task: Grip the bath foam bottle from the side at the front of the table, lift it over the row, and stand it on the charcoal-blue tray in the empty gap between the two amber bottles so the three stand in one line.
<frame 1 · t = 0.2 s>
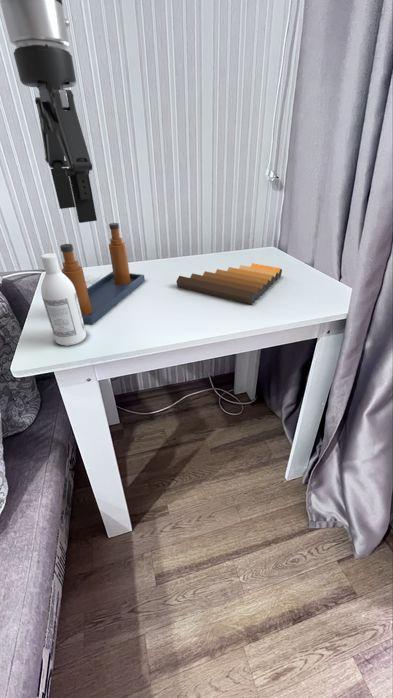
hand: (76, 214, 56), 29 cm above the table, tool pointing down, fingers open, 13 cm apart
bath foam: (71, 339, 76), on the table
pan flute: (230, 282, 104), on the table
tray: (104, 297, 95), on the table
amber bottle near: (82, 312, 86), resting on tray
amber bottle far: (122, 281, 103), resting on tray
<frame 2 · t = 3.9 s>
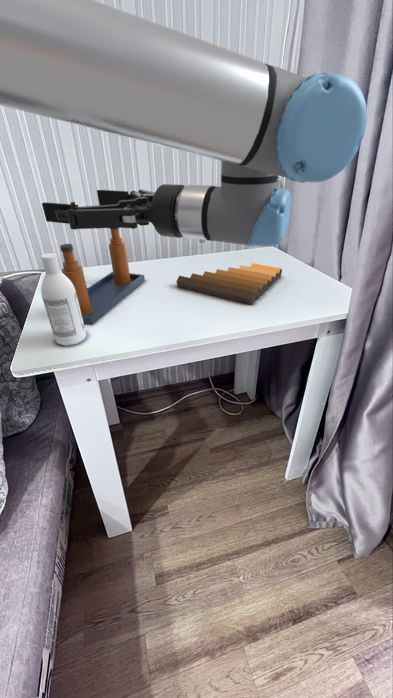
hand: (74, 204, 56), 30 cm above the table, tool horizontal, fingers open, 13 cm apart
nothing on the table moved.
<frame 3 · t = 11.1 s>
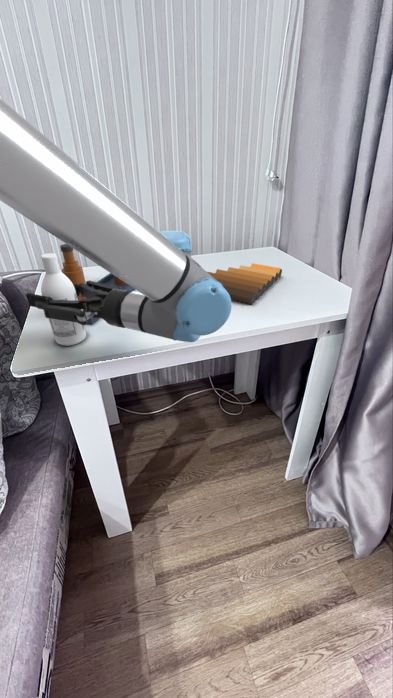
hand: (42, 292, 72), 11 cm above the table, tool horizontal, fingers closed on bath foam, 7 cm apart
bath foam: (71, 339, 76), on the table, touching gripper
everything else where it was.
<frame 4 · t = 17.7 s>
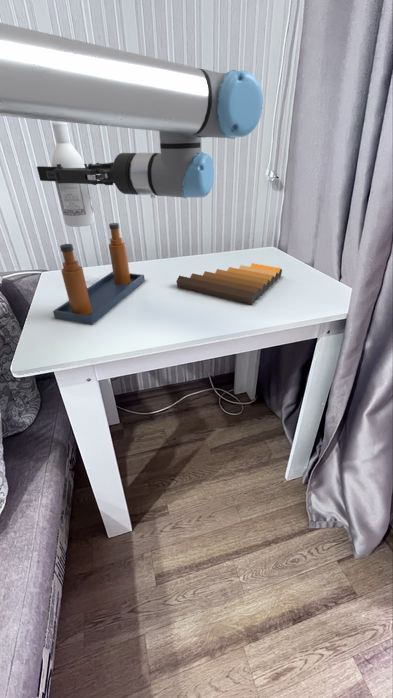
hand: (52, 171, 73), 33 cm above the table, tool horizontal, fingers closed on bath foam, 7 cm apart
bath foam: (80, 224, 78), point 22 cm above the table, touching gripper
everything else where it was.
when the fingers open (12 cm above the table, at t = 24.7 s): bath foam stays where it is, resting on tray.
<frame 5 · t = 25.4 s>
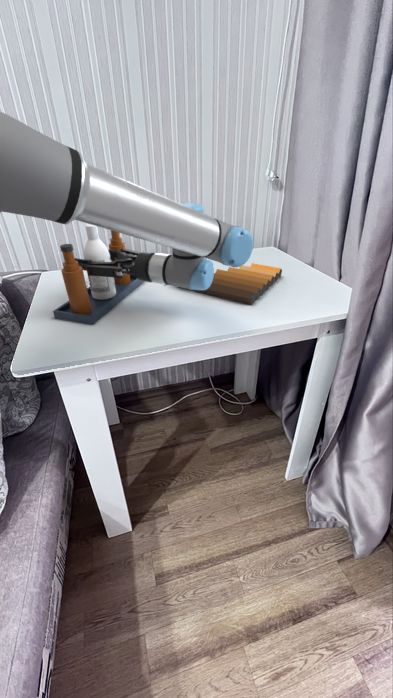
hand: (84, 257, 90), 11 cm above the table, tool horizontal, fingers open, 9 cm apart
bath foam: (104, 296, 95), resting on tray
everything else where it was.
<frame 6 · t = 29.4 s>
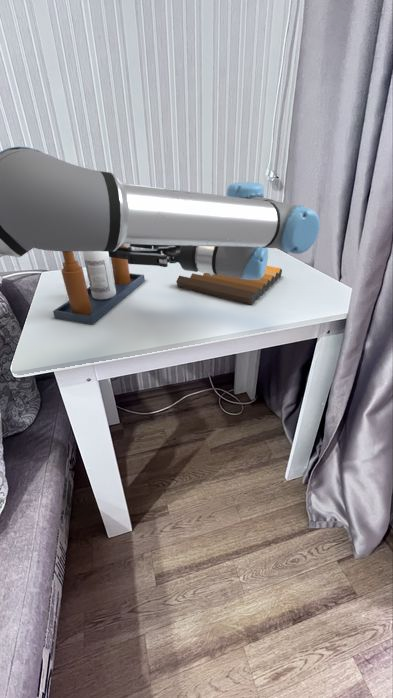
hand: (120, 245, 83), 16 cm above the table, tool horizontal, fingers open, 9 cm apart
nothing on the table moved.
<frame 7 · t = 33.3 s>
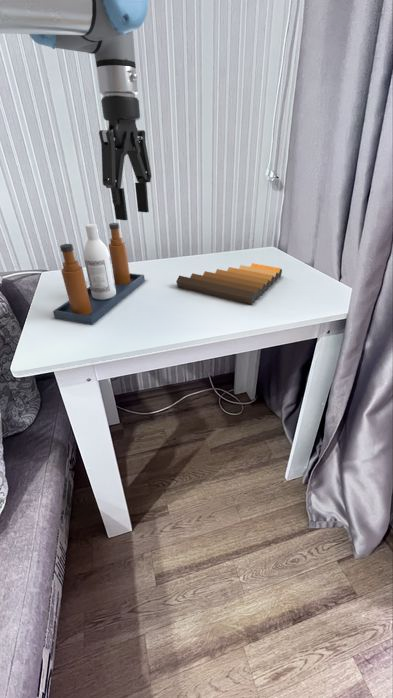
hand: (133, 215, 77), 24 cm above the table, tool pointing down, fingers open, 9 cm apart
nothing on the table moved.
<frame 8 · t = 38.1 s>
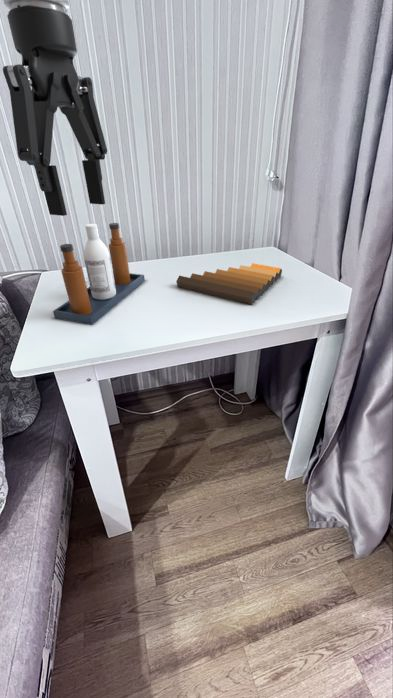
hand: (79, 208, 52), 30 cm above the table, tool pointing down, fingers open, 9 cm apart
nothing on the table moved.
at the end: bath foam 0.1 cm off-centre in the tray, point 0.4 cm above the tray's base; bath foam tilted 0°; the gripper is holding nothing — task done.
